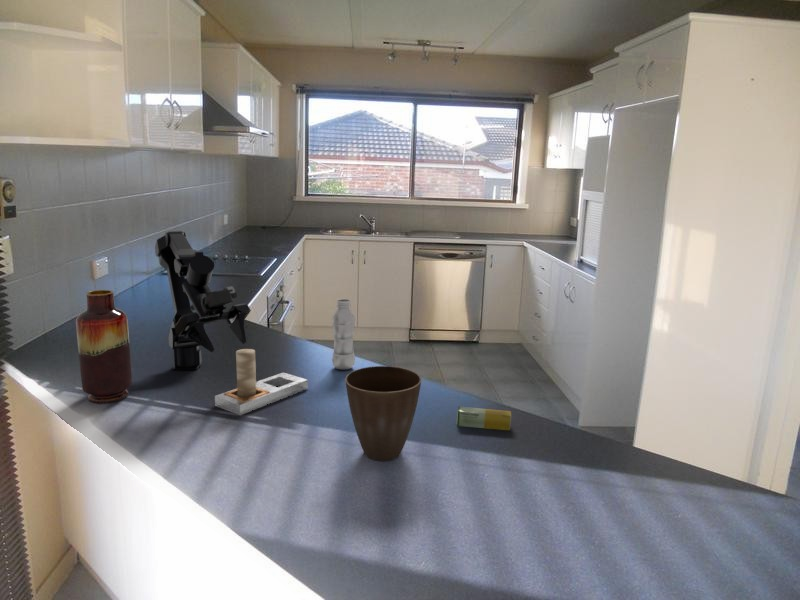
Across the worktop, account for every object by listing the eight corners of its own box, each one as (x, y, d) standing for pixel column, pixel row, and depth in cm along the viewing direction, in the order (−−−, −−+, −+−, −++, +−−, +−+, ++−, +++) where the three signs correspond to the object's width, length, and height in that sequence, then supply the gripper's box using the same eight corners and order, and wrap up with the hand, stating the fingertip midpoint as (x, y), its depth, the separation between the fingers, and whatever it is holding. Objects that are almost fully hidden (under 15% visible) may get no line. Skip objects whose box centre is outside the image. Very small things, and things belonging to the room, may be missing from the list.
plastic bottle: (359, 366, 173) (359, 299, 169) (347, 373, 167) (347, 304, 163) (339, 363, 176) (340, 297, 172) (327, 370, 170) (327, 301, 166)
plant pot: (392, 479, 111) (394, 397, 108) (329, 457, 119) (329, 381, 115) (432, 449, 123) (435, 375, 120) (372, 431, 131) (373, 361, 128)
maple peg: (236, 406, 142) (234, 354, 140) (239, 399, 147) (237, 349, 144) (255, 406, 143) (254, 354, 140) (257, 399, 147) (256, 348, 145)
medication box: (456, 427, 135) (457, 410, 134) (456, 421, 138) (457, 405, 137) (510, 431, 133) (511, 415, 132) (510, 426, 136) (511, 410, 135)
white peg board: (240, 415, 138) (239, 404, 137) (215, 405, 143) (214, 395, 142) (307, 388, 155) (307, 379, 155) (283, 381, 160) (283, 371, 160)
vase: (83, 408, 140) (72, 298, 134) (83, 392, 149) (73, 289, 144) (134, 400, 145) (127, 295, 139) (131, 386, 154) (124, 286, 149)
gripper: (178, 281, 139) (208, 336, 134) (245, 272, 153) (274, 321, 149) (162, 309, 145) (190, 362, 141) (227, 297, 159) (255, 345, 155)
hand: (229, 347), depth 146 cm, fingers open, 9 cm apart
